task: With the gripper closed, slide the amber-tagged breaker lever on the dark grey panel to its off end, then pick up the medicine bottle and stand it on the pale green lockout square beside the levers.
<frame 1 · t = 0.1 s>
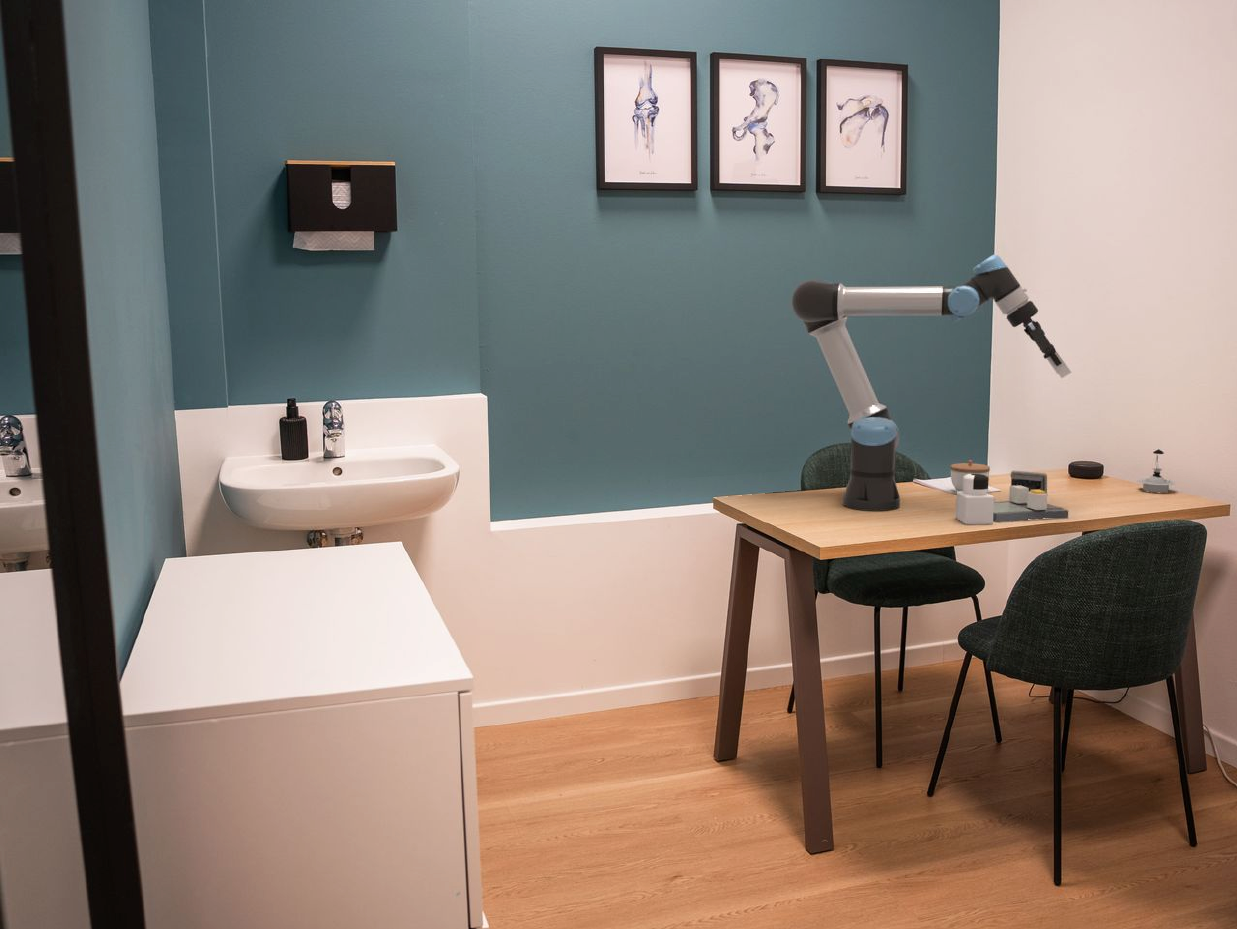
hand: (1064, 373, 275), 36 cm above the table, tool tilted 35°, fingers open, 13 cm apart
grey stand with stem: (1155, 491, 300), on the table
breaker 2: (1018, 494, 274), point 4 cm above the table, slide at 0.0 cm
lidded jar: (968, 493, 300), on the table
panel: (1017, 514, 270), on the table
electrical switch: (1028, 505, 283), on the table
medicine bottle: (973, 522, 263), on the table
breaker 1: (1037, 499, 266), point 5 cm above the table, slide at 0.0 cm
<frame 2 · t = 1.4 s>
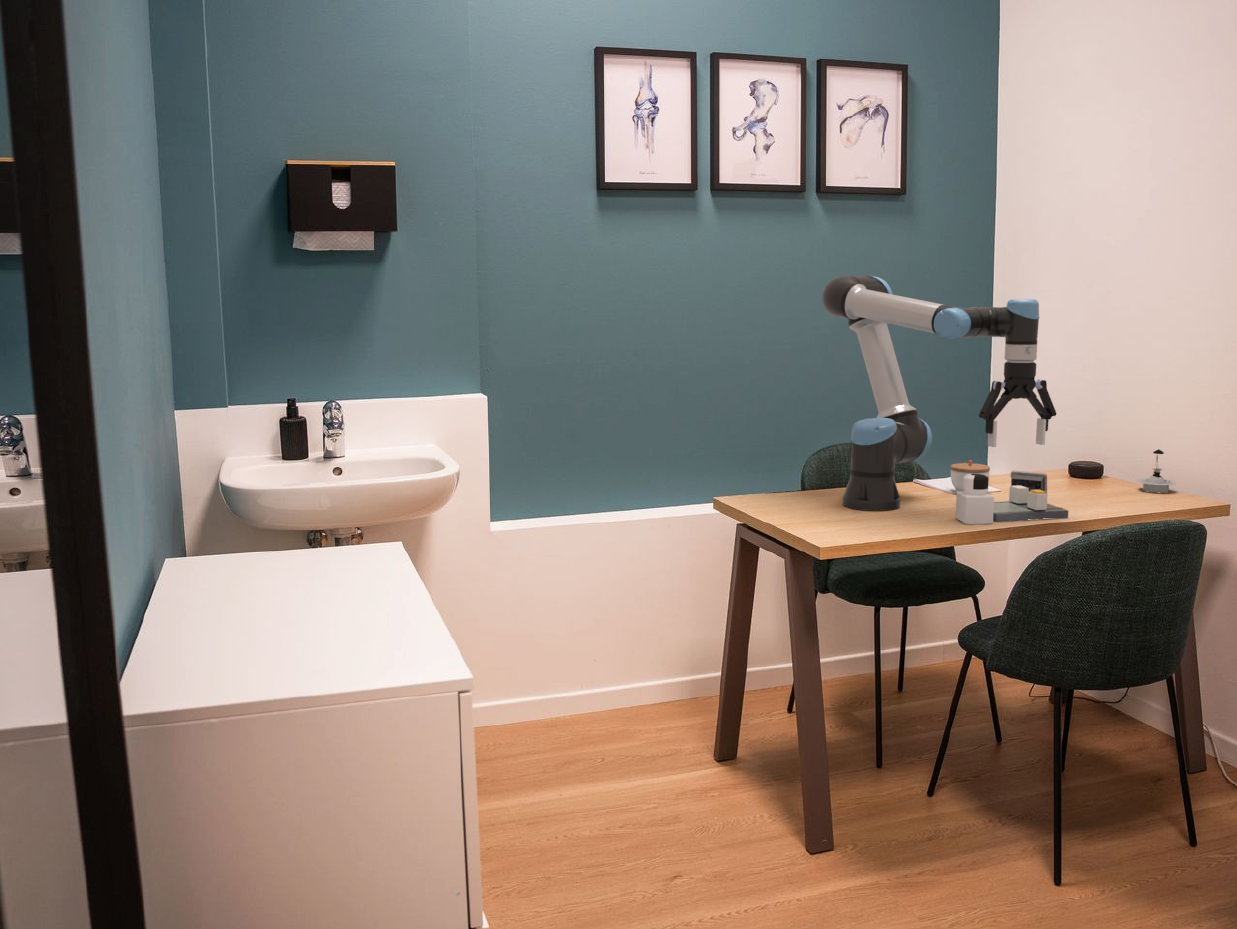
hand: (1016, 445, 263), 19 cm above the table, tool pointing down, fingers open, 13 cm apart
nothing on the table moved.
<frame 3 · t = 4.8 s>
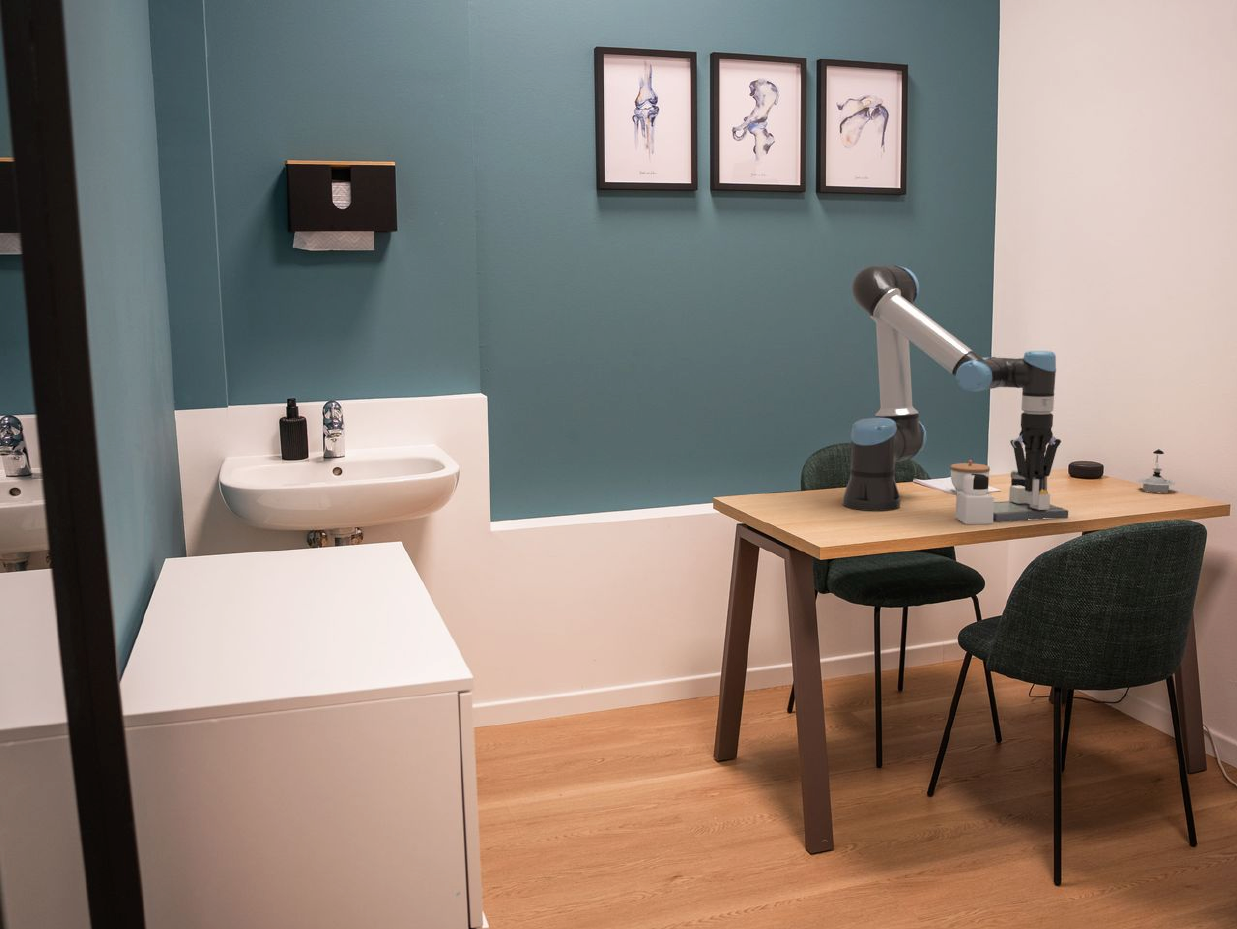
hand: (1032, 503, 266), 4 cm above the table, tool pointing down, fingers closed
breaker 1: (1039, 499, 266), point 5 cm above the table, slide at 0.7 cm, touching gripper
everything else where it was.
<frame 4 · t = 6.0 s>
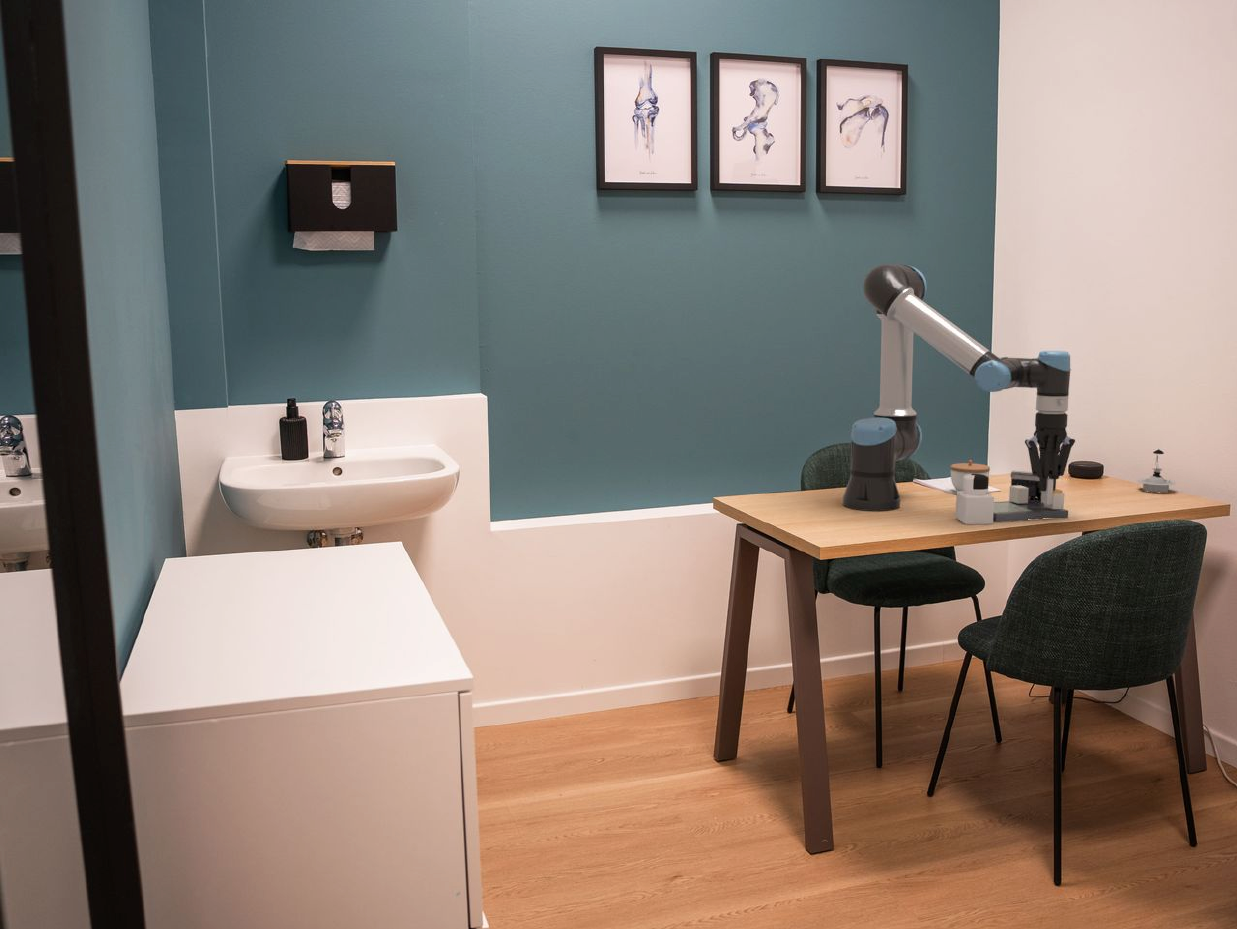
hand: (1046, 503, 267), 4 cm above the table, tool pointing down, fingers closed
breaker 1: (1054, 498, 267), point 5 cm above the table, slide at 4.8 cm, touching gripper
everything else where it was.
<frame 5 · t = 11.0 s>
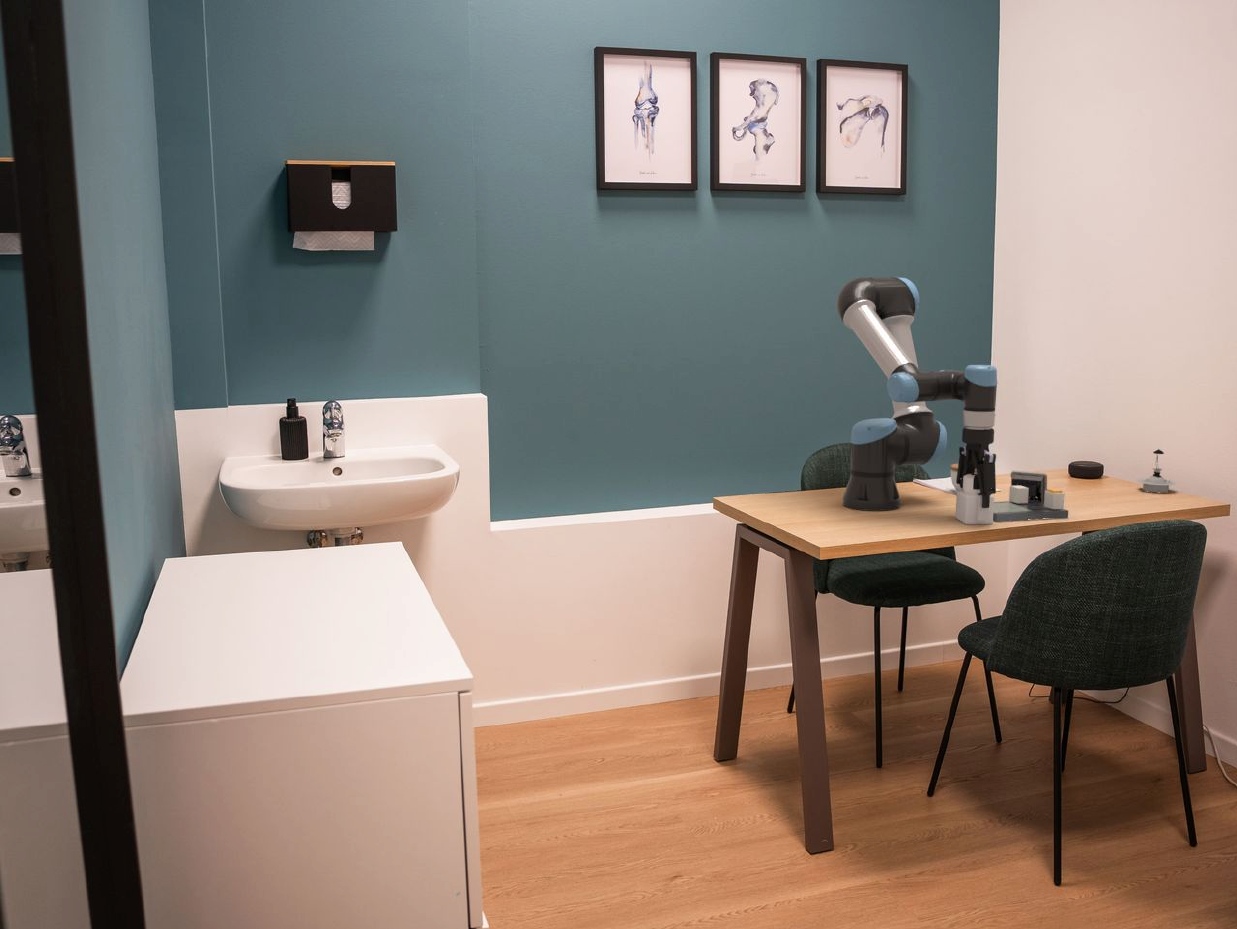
hand: (974, 516, 262), 1 cm above the table, tool pointing down, fingers closed on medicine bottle, 8 cm apart
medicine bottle: (973, 522, 263), on the table, touching gripper
breaker 1: (1054, 498, 267), point 5 cm above the table, slide at 4.8 cm
everything else where it was.
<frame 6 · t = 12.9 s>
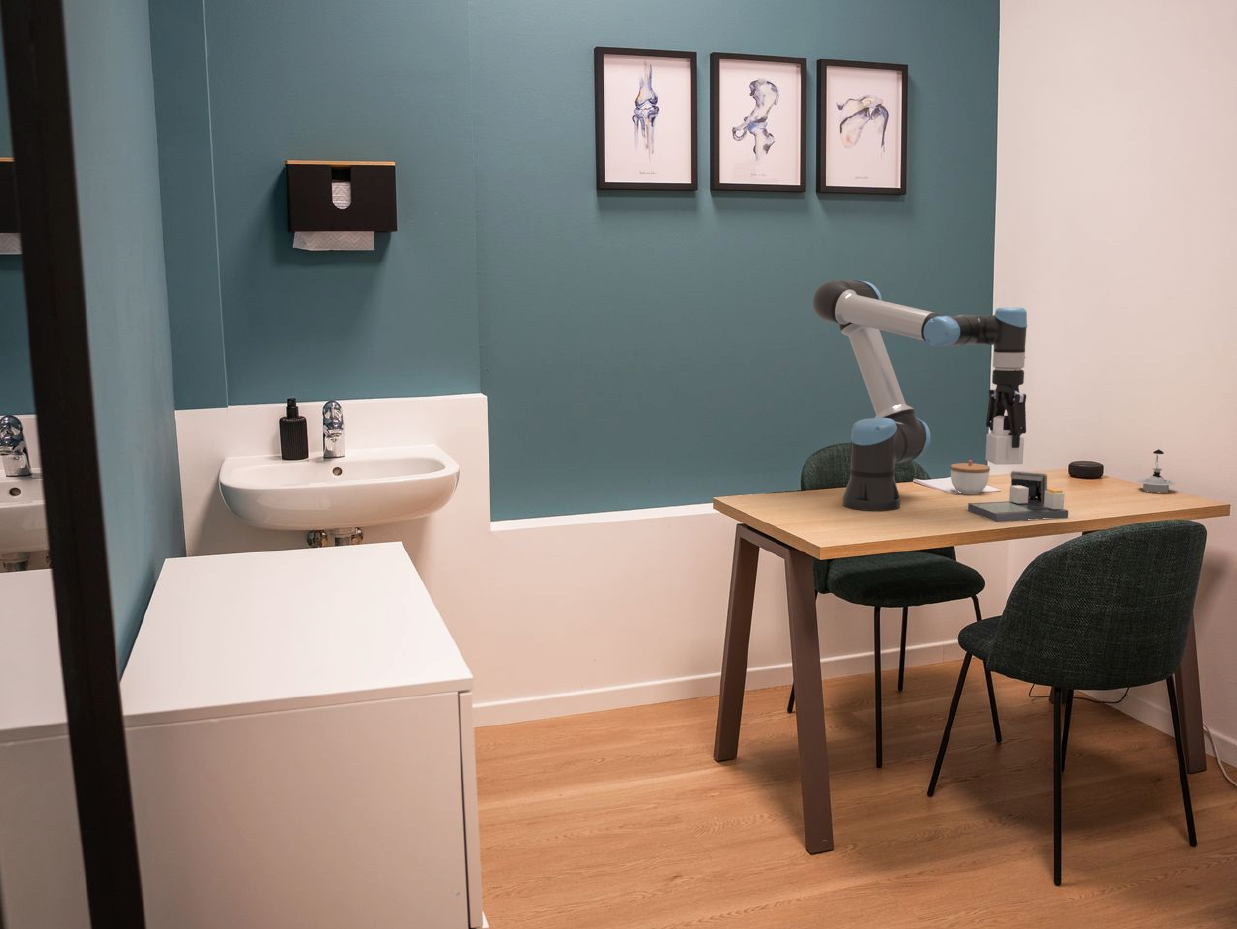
hand: (1003, 457, 267), 15 cm above the table, tool pointing down, fingers closed on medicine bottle, 8 cm apart
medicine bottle: (1003, 463, 267), point 14 cm above the table, touching gripper
everything else where it was.
when the fingers open (5 cm above the table, at t = 15.2 s): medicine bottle drops 1 cm, resting on panel.
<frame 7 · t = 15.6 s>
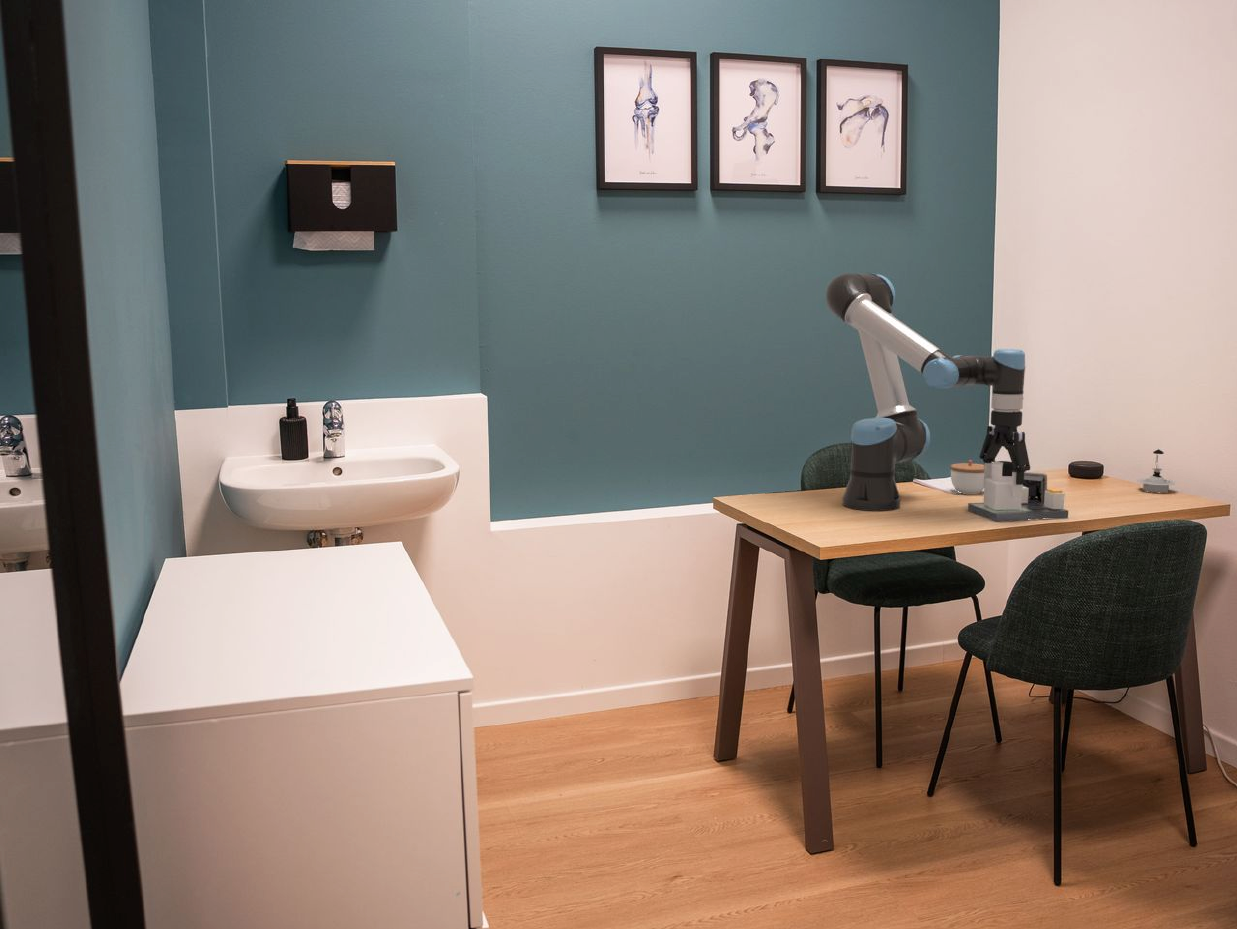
hand: (1002, 492, 268), 6 cm above the table, tool pointing down, fingers open, 13 cm apart
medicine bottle: (1001, 508, 269), point 2 cm above the table, touching panel
everything else where it was.
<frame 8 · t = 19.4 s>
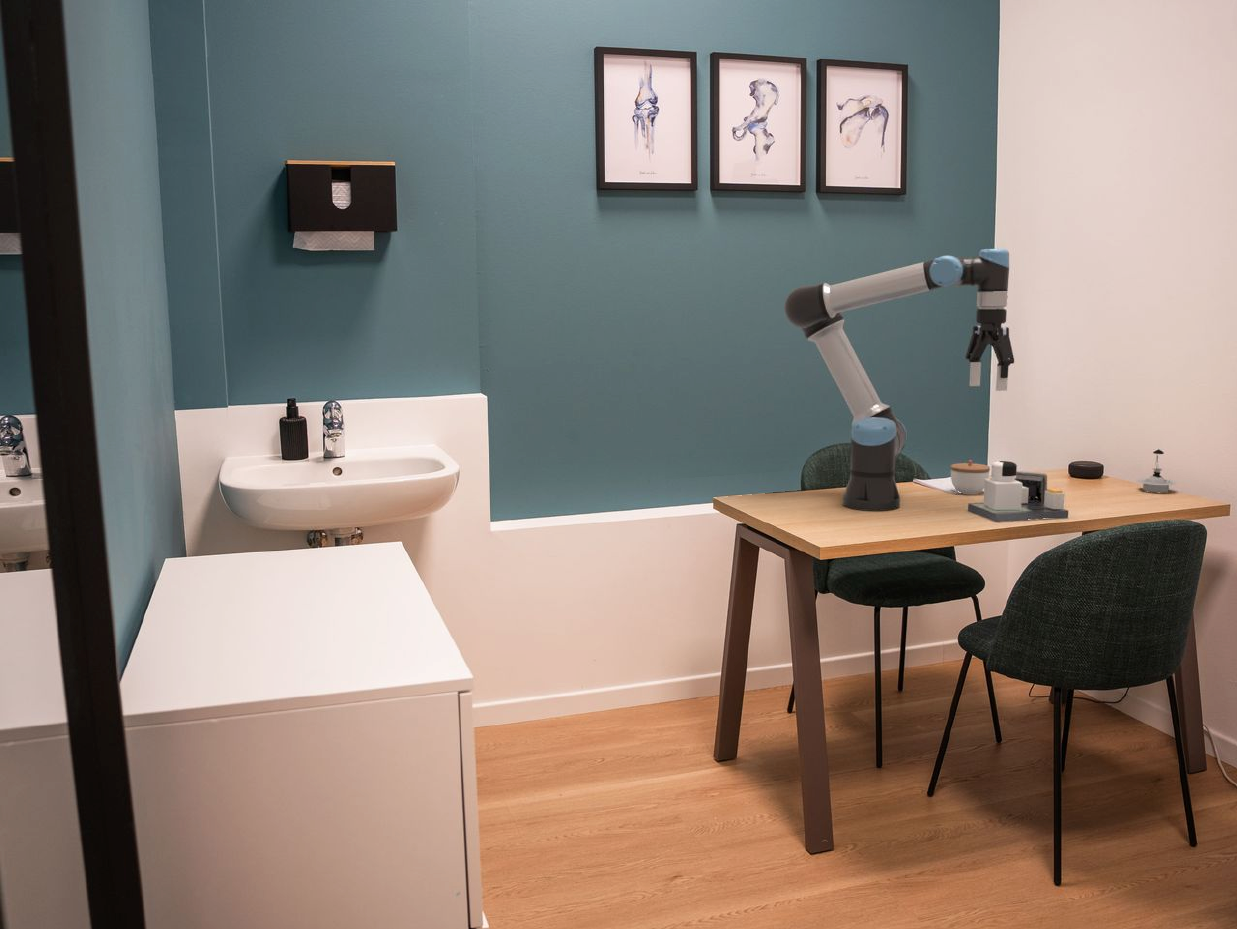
hand: (987, 388, 278), 32 cm above the table, tool pointing down, fingers open, 13 cm apart
nothing on the table moved.
at the end: breaker 1 slide at 4.8 cm; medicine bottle inside the target area on the panel (0.1 cm from its centre), point 1.9 cm above the panel's base; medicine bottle tilted 0° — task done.
